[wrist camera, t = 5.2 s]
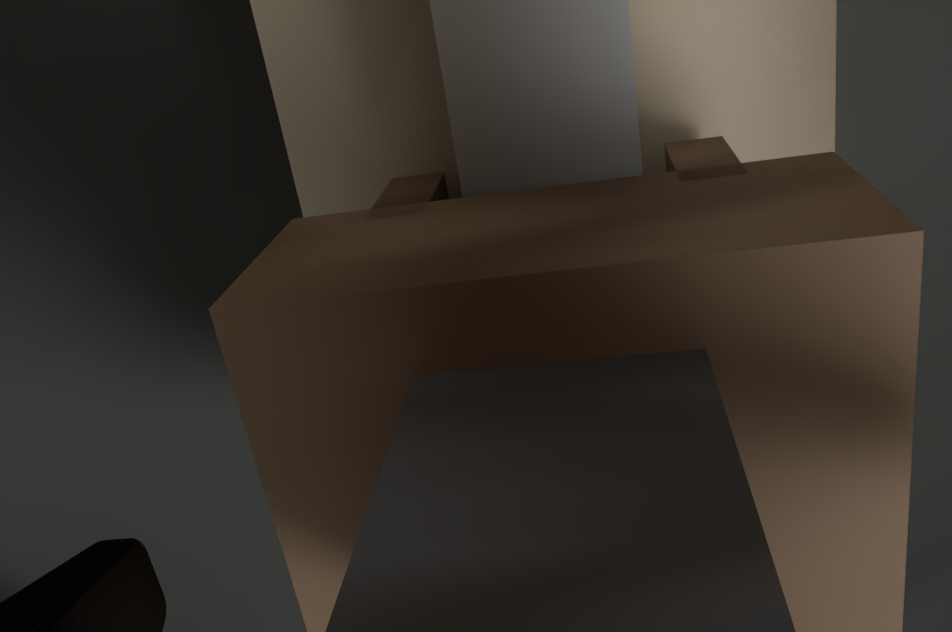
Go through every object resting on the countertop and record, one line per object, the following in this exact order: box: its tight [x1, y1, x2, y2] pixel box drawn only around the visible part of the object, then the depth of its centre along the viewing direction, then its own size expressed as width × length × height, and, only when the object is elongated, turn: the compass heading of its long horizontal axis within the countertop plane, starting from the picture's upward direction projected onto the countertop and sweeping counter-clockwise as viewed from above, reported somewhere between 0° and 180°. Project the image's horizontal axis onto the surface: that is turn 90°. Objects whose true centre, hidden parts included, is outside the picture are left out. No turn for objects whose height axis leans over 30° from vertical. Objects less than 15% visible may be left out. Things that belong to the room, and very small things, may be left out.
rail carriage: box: [209, 136, 924, 632], centre depth 9 cm, size 7×5×10 cm
